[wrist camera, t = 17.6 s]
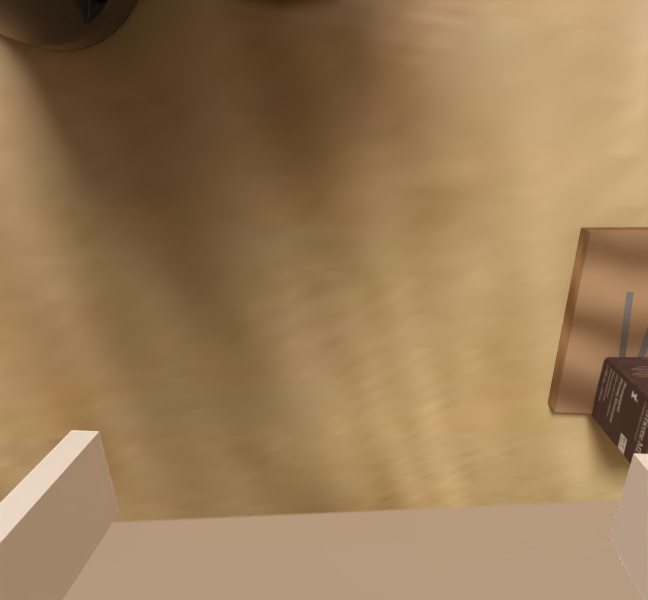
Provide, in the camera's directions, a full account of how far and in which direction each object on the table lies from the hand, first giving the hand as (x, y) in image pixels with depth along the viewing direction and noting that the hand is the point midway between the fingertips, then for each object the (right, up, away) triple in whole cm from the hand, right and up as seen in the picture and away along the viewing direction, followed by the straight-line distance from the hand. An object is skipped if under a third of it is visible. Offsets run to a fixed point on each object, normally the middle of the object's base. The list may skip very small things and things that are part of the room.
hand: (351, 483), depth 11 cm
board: (+26, +3, +25) cm, 36 cm away
